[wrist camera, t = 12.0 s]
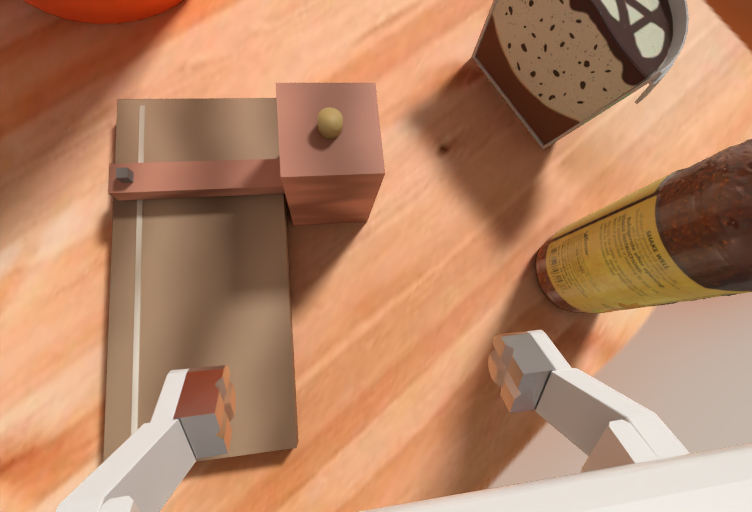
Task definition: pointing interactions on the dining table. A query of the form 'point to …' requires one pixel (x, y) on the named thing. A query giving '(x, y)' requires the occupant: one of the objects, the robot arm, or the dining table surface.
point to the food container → (576, 56)
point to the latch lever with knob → (287, 159)
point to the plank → (201, 275)
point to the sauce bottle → (659, 242)
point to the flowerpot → (103, 9)
